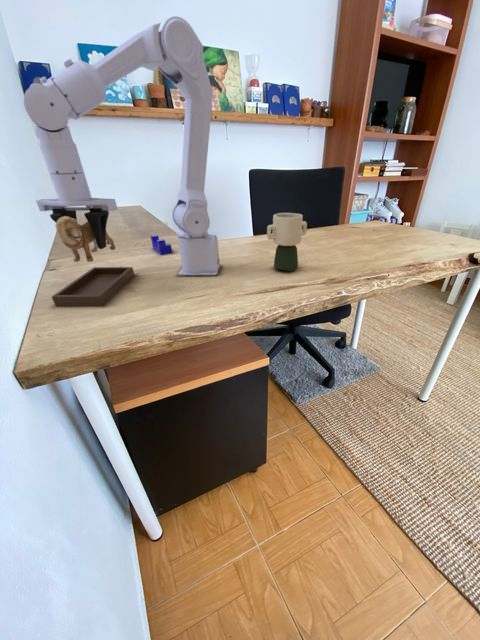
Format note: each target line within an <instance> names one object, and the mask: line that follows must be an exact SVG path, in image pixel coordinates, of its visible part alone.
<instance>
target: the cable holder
mask: <svg viewBox="0 0 480 640" xmlns="http://www.w3.org/2000/svg"><path fill="white" fill-rule="evenodd" d="M150 241H151V246H152V250H153V251H155V252H156V253H158V255H160V256H163V255H169V254H173V248H172V244H171V243H169V242H166V240H165V239H164V238H162V239H161V238H160V237H159V234H153V235H150Z"/></svg>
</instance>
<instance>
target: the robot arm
mask: <svg viewBox="0 0 480 640" xmlns="http://www.w3.org/2000/svg"><path fill="white" fill-rule="evenodd" d="M161 24H162V23H161V21H160V22H158V23H154V24H152V25H150V26H148V27H146V28H145V29H142V30H141V31H139V32H137V33H136V34H134V35H133V36H131V37H129V38H128V39H127V40H126V41H124V42H123V43H121V44H120V45H119V46H117V47H115V48H114V49H112V51H110V52H108V53H107V54H106V55H104V56H103V57H102V58H100V59H98V60H97V61H95V62H94V63H93V64H91V63H88V62H86V61H83V60H82V59H78V60H76V61H74V62H73V60H72V59H71V58H68V59H65V60H64V61H63V65H64V67H65V68H63V69H62V70H60V71H59V72H57V73H56V74H54V75H52V76H50V77H48V78H47V77H46V76H42V77H41V78H39V82H40V83H31V84H30V86H29V87H28V88H27V89H26V90H25V92H24V95H23V107H24V109H25V111H26V113H27V115H28V117H29V119H31V121H32V123H34V124H33V127H34V133H35V136H36V138H37V139H38V141H39V142H38V146H39V149H40V151H41V155H42V157H43V160H44V163H45V166H46V169H47V171H48V174H49V176H50V179H51V182H52V185H53V188H54V191H55V194H56V196H57V198H40V199H37V200H35V201H36V205H37V207H38V210H39V212H50V211H51V212H52V213H51V214H49V217H50V219H51V220H52V221H53V222H54V223H55V224H57V220H58V219H59V218H61V217H64V216H68V217H70V218H74V219H76V220H77V221H78V219H77V211H88V212H85V213H84V214H83V215H84V217H85V219H86V220H87V221H88V222H89V224H90V226H91V228H92V231H93V233H94V236H95V239H96V243H97V245H98V249H99V250H104V249H105V248H106V247H107V241H106V231H107V224H108V219H109V214H110V212H114V211H117V210H118V206H117V201H116V198H103V197H98V198H97V197H92V194H91V191H90V187H89V184H88V180H87V177H86V174H85V171H84V167H83V164H82V161H81V157H80V153H79V151H78V147H77V144H76V143H75V141H74V139H73V137H72V134H71V130H70V127H69V126H68V123H69V119H72V120H79V119H80V118H82V117H83V116H84V115H87V114H88V113H89V112H90V111H92V110H94V109H95V108H97V107H98V106H100V105H101V104H103V103H105V102H106V99H107V98H106V95H107V94H106V93H107V92H106V91H107V88H108V87H110V86H112V85H113V84H115V83H117V82H118V81H120V80H122V79H124V78H125V77H127V76H128V75H130V74H132V73H133V72H135V71H137V70H138V69H140V68H144V69H146V70H149V71H153V72H154V71H156V70H158V71H159V72H160V73H161V74H162V75H163V76H164V77H165V78H167V79H168V80H169V81H170V82H172V83H173V84H174V86H175V87H176V88H177V91H179V93H180V94H181V96H182V97H183V99H184V101H185V107H184V121H183V123H184V125H183V142H182V159H181V178H180V188H179V191H178V193H177V199H176V203H175V206H174V207H173V209H172V220H173V222H174V224H175V225H176V226H177V227H178V231H177V233H176V235H177V241H178V247H179V254H180V257H181V258H180V259H181V266H182V267H181V269H180V271H179V272H178V276H217V275H218V273H219V270H220V267H221V261H220V251H219V250H220V249H219V240H218V236H217V235H216V234H209V233H208V230H209V228H210V225H211V224H210V223H211V221H210V216H209V213H208V201H207V198H206V193H205V187H206V175H207V164H208V153H209V152H208V151H209V141H210V129H211V120H212V119H211V118H212V109H213V108H212V107H213V97H214V95H213V88H212V85H211V81H210V77H209V74H208V70H207V67H206V66H207V65H206V63H205V58H204V46H203V43H202V42H201V40H200V38H199V37H198V35H197V33H196V32H195V31H194V29H193V27H192V25H190V23H189V22H188V21H187V20H186V19H184V18H183V17H181V16H176V15H174V16H170V17H168V18H167V19H166V20H165V21H164V23H163V25H162V26H161ZM160 27H161V29H160ZM80 249H83V247H81V248H79V249H78V250H80Z"/></svg>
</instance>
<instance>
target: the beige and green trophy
mask: <svg viewBox="0 0 480 640" xmlns="http://www.w3.org/2000/svg"><path fill="white" fill-rule="evenodd" d="M303 216H304V215H303V214H301V213H296V212H295V213H294V212H278V213H275V214H273V215H272V224H268V225H267V226H266V237H267V238H266V239H267V240H269V241H270V240H272V241H273V243H274V244H277V246H276V249H275V252H274V253H275V254H274V262H273V267H274V268H275V269H278V270H280V271H288V272H289V271H290V272H291V271H295V270H297V269H298V268H299V258H298V247H297V245H299V244H301V242H302V236H305V235H307V228H308V223H307V221H305V220H303V218H304V217H303Z"/></svg>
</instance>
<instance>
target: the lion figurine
mask: <svg viewBox="0 0 480 640" xmlns="http://www.w3.org/2000/svg"><path fill="white" fill-rule="evenodd" d="M54 227H55V229H56V233H57V235H58V237H59V239H60V240H61V242H62V243H63V244H64V245H65V246H66V247H67V248H68V249H70V251H71V252H72V254H73V256H74V258H73V259H72V260H73V262H75V263H78V262H80V261H81V255H80V253H79V250H80V249H83V250H84V253H85V258H86V262H88V263H91V262H94V258H93V256H92V253H97V252H98V249H99V248H98V245H97V243H96V239H95V236H94V233H93V231H92V228H91V226H90V224H89V222H88V220H87V221H86V222H84V223H83V224H79V223H78V219H77V220H76V219H74V218H70V217H68V216H64V217H61V218H59V219H58V220H57V223H55V226H54ZM108 233H109V232H107V230H106V246H109V245H110V246H109V250H110V251H114V250H116V245H115V243H114V240H113V238H112V237H110V235H109V234H108ZM92 242H93V248H92V249H90V248H91V247H90V244H91V243H92ZM81 247H82V248H81ZM79 248H80V249H79Z"/></svg>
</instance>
